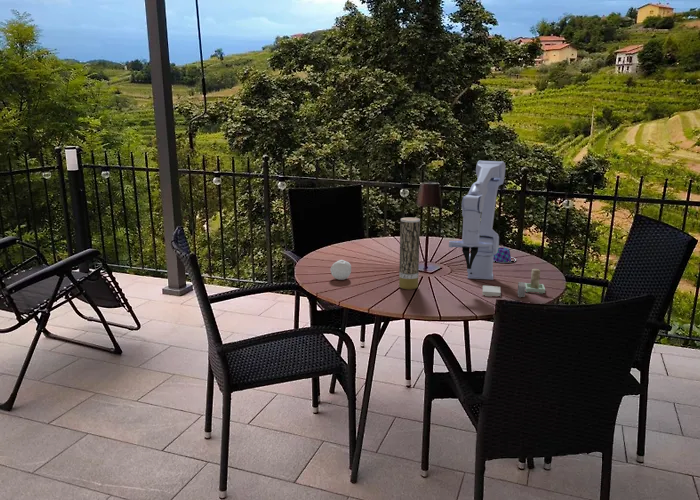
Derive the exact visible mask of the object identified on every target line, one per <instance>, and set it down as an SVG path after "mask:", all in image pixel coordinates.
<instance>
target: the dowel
mask: <svg viewBox="0 0 700 500" xmlns="http://www.w3.org/2000/svg"><path fill="white" fill-rule="evenodd" d="M540 276H541V269H538V268H532V269H531V278H530V283H531V288H537V289H539V284H540V278H541V277H540Z"/></svg>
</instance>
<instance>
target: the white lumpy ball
mask: <svg viewBox="0 0 700 500" xmlns="http://www.w3.org/2000/svg"><path fill="white" fill-rule="evenodd" d="M351 272H352V265H351V263H350V262H349V261H346V260H344V259H338V260H337V261H335V262H334V263H332V265H331V266H330V275H332V277H333V278H334V279H336V280H339V281H344V280H347V279H348V278H349V277H350V275H351Z"/></svg>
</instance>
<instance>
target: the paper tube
mask: <svg viewBox="0 0 700 500" xmlns="http://www.w3.org/2000/svg"><path fill="white" fill-rule="evenodd" d="M399 231H400V232H399V271H398V273H399V274H398V275H399V277H398V279H399V280H398V281H399V282H398V283H399V284H398V286H399V288H400V289H403V290H410V291H411V290H415V289H417V288H418V287H419V265H420V237H421V234H420V232H421V218H418V217H401V218H400V228H399Z"/></svg>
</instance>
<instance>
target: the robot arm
mask: <svg viewBox="0 0 700 500" xmlns="http://www.w3.org/2000/svg"><path fill="white" fill-rule="evenodd" d="M475 175H476V177H477V180H476V181H475V182H473V183H472V184H471V186H470V188H469V191H468V192H467V194H466V195H464V196H462V199H461V200H462V201H461V210H462V211H461V215H462V217H463V219H462V235H461V236H462V238H461V239H462V240H449V241H448V248H461V251H462V254H463V257H464V259H465V262H466V269H467V270H466V272H467V279H475V280H490V281H491V280H492V281H493V280H494V273H493V272H494V271H493V267H494V260H493V256H494V255H495V254H496V253H497V252H498V248H500V236H499V234H498V233H497V232H496V231H495V230H494V229H493V228H494V227H493V226H494V219H495V211H496V204H497V202H496V201H497V197H498V195H497V194H498V190H499V186H501V185H504V182H505V176H506V163H505V162H504V160H501V161H500V160H499V161H498V160H497V161H496V160H481V159H480V160H478V161H477V163H476V167H475Z"/></svg>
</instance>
